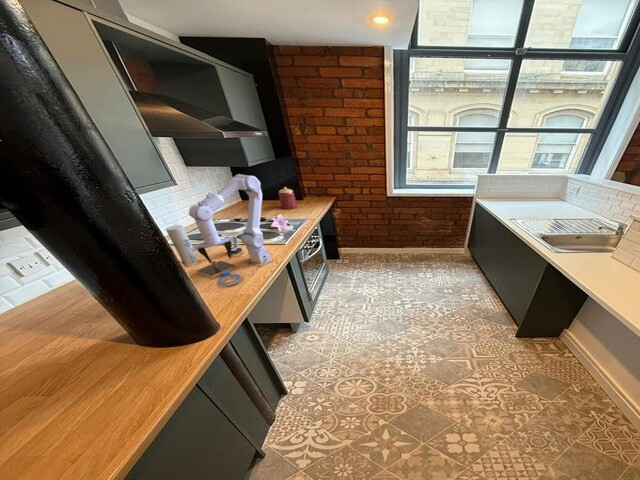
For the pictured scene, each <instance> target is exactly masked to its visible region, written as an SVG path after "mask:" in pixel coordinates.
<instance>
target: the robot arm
mask: <svg viewBox="0 0 640 480" xmlns="http://www.w3.org/2000/svg"><path fill="white" fill-rule="evenodd" d="M239 190H240V191H241V190H242V191H244V192H245V193H246V194H247V196H248V205H247V207H248V208H247V220H246V227H245V228H244V229H243V231H242V234H241V236H240V241H241V243H242V244H243V245H245V247H246V250H247V253H248V257H249V258H250V261H251V262H252V263H258V264H263V263H264V264H268V263H270V262H272V261H273V259H272V258H271V255H270V253H269V252H270V251H269V250H268V249H267V248H266V247H264V242H265V240H264V233H263V232H262V230H261V229H260V226H261V214H262V204H263V191H262V188H261V181H260V180H259V179H258V178H257V177H256V176H255V175H247V174H241V173H238V174H236V175H234V176H233V177H231V179H230V180H229V181H228V182H227V183H226V185H224V186H223V187H221V189H220V190H219V191H218V192H216V193H212V192H211V193H207V194H206V195H205V196H206V197H205V198H204V199H202V200H201V201H198V202H197V204H193V205H191V206H190V208H189V210H188V215H189V217H191V218H193V219H194V221H195V224H196V226H197V229H198V231H199V233H200V235H201V237H202V240H203V242H201V243H197V244H194V245H193V244H192V247H193V249H194V251H195V252H198V253H199V254H200V255H202V256H203V257H204V258H205V259H206V260H207V261H208V263H209V264H212V262H213V261H212V259H211V258H210V256H209V254H208V251H207V250H206V249H207V248H211V247H216V246H222V245H223V244H224V245H225V246H224V245H223V246H224V248H225V251H226V253H227V256H228V259H232V254H231V248H233V247H232V246H233V244H234V239H233V237H231V238H225V237H224V238H220V236H219V233H218V230H217V228H216V226H215V223H214V221H213V219H212V218H213V216H214V213H216V211H217V210H218V209H220V208H221V207H222V206H223V205H224V203H225V199H227V198H229V197H230V196H231V195H233V194H234V193H235V192H237V191H239ZM231 243H233V244H231Z"/></svg>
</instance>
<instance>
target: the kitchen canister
mask: <svg viewBox="0 0 640 480" xmlns="http://www.w3.org/2000/svg"><path fill="white" fill-rule="evenodd" d="M278 197H279V198H278V199H279V202H280V207H281V209H283V210H292V209H295V208H297V207H298V204H297V200H296V196H295V192H294V190H293V189H290V188H287V187H286V186H284V187H283V188H282V189H281V188H280V190H279V191H278Z"/></svg>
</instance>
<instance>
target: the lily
mask: <svg viewBox="0 0 640 480" xmlns="http://www.w3.org/2000/svg"><path fill="white" fill-rule="evenodd" d="M271 219H272V220H273V222H272V223H271V225H270V226H271V227H273V228H277V229H278V231H279V232H280V233H281V232H282V231H283V229H286V230H290V227H289V225H288V223H289V220H286V219H284V217H283V215H282V214H281V213H279V215H277V217H271Z"/></svg>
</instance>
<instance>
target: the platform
mask: <svg viewBox="0 0 640 480" xmlns="http://www.w3.org/2000/svg"><path fill="white" fill-rule="evenodd" d="M211 262H212V263H210V264H209V265H206V266H204V267H202V268H199V269H197V270H196V272H199V273H201V274H205V275H207V276H210V277H213V276H216V275H218V274H221V273H223V271H225V270H229V269H231V268H233V267H236V266H237V265H236V264H233V263H229V262H227V261H223V260H219V261H216V260H214V261H213V260H212V261H211Z"/></svg>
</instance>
